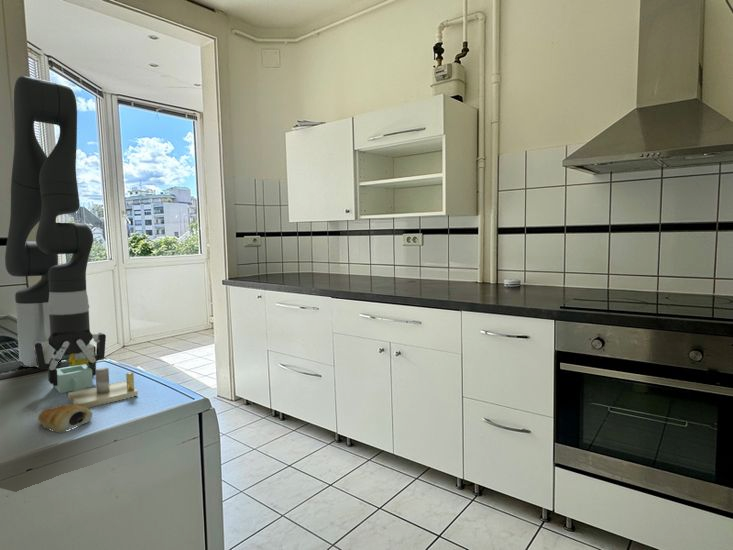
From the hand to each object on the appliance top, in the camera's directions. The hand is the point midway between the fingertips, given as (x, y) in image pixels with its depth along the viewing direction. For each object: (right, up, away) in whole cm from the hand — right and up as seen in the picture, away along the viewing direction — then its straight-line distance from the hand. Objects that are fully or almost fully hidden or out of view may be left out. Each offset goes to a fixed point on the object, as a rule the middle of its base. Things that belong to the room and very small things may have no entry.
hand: (73, 381), depth 100 cm
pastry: (+12, -4, -20) cm, 23 cm away
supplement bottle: (-4, -1, +10) cm, 11 cm away
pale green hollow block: (+1, -1, -1) cm, 2 cm away
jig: (+11, -2, -6) cm, 13 cm away
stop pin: (+16, -1, -5) cm, 17 cm away
